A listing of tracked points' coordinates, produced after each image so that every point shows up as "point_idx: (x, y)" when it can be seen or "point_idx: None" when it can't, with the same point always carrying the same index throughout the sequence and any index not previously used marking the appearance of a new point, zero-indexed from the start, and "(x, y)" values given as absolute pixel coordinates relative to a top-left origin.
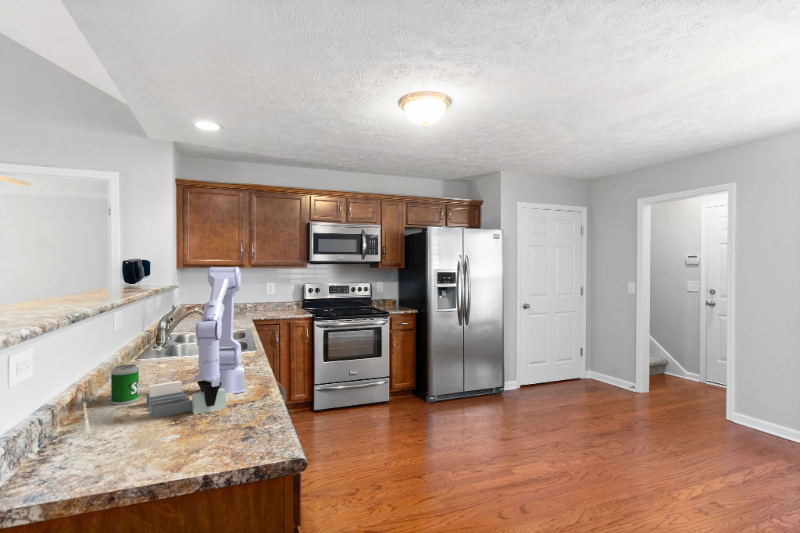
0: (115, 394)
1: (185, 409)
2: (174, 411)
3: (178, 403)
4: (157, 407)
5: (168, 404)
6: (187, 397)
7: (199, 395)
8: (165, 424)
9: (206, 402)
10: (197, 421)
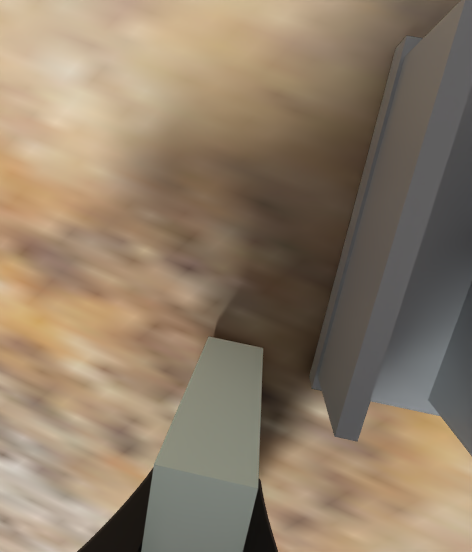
0: None
1: (336, 333)
2: (360, 240)
3: (374, 298)
4: (451, 38)
5: (432, 192)
6: None
7: (148, 513)
8: (218, 107)
9: (142, 483)
10: (103, 308)
